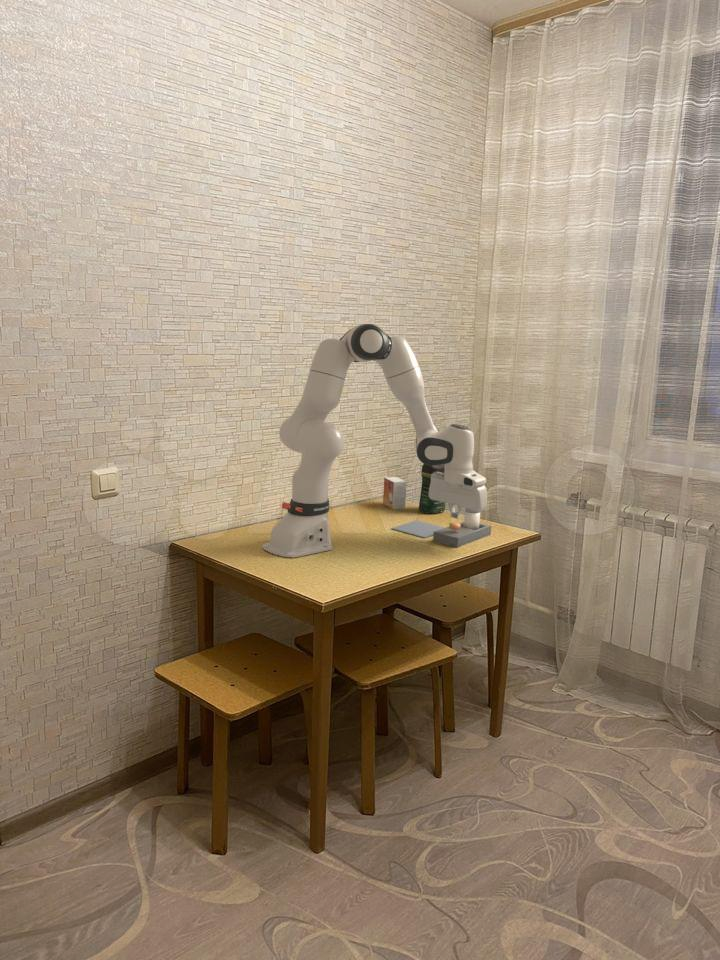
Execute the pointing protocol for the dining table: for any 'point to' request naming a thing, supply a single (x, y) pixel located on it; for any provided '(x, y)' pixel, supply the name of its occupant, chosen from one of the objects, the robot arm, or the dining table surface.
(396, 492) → the small box
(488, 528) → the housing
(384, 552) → the dining table surface
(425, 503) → the coffee jar
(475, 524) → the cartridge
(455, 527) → the orange flat dome
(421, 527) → the mat
